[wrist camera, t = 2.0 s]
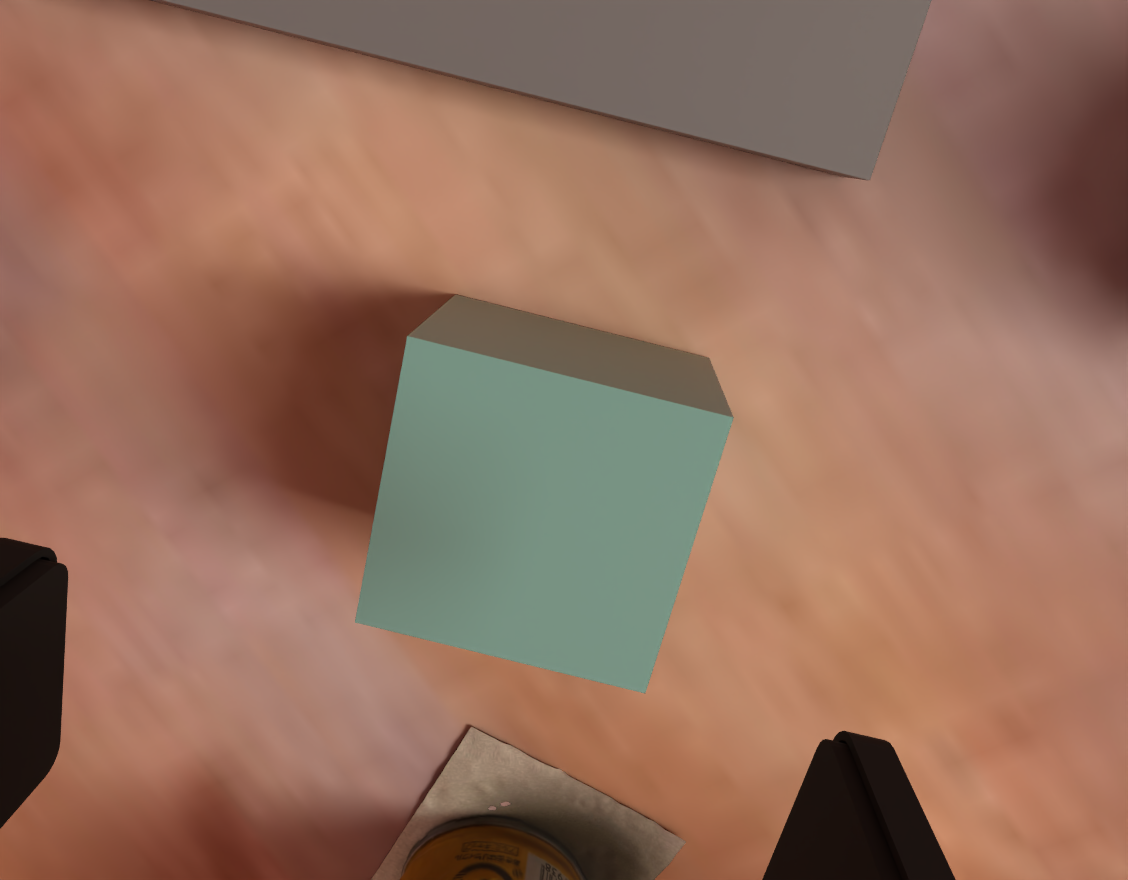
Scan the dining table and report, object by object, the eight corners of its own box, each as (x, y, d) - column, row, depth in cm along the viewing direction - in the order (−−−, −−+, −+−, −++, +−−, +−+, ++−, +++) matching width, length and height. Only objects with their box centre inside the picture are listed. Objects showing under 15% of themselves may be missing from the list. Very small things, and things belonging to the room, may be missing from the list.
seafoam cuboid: (709, 358, 21) (733, 417, 17) (640, 583, 23) (645, 693, 19) (455, 294, 21) (407, 336, 16) (409, 526, 23) (355, 622, 19)
